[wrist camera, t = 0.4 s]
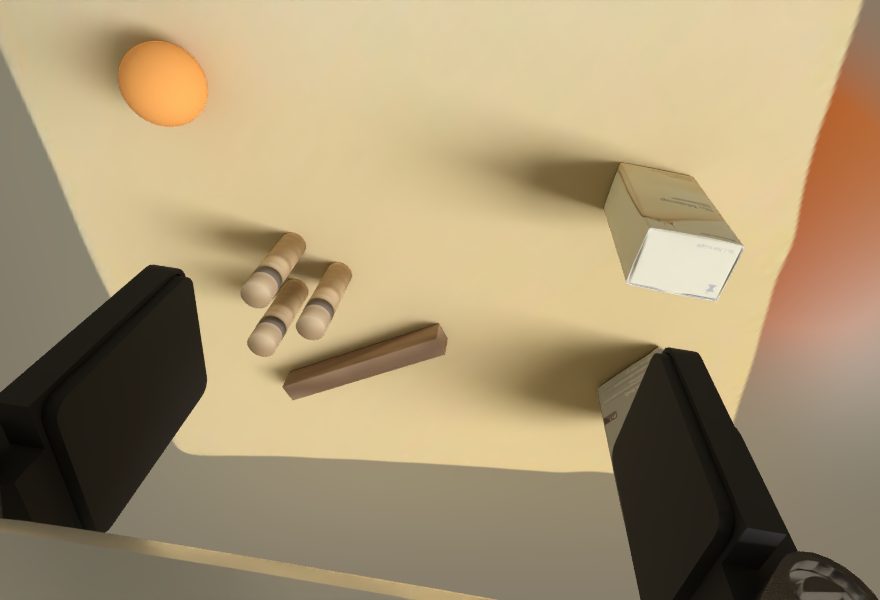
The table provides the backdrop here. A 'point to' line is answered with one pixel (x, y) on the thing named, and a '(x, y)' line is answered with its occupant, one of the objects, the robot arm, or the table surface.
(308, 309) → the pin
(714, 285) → the skincare box
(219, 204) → the table surface
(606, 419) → the skincare box
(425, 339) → the back wall
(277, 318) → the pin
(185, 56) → the ball
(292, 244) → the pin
